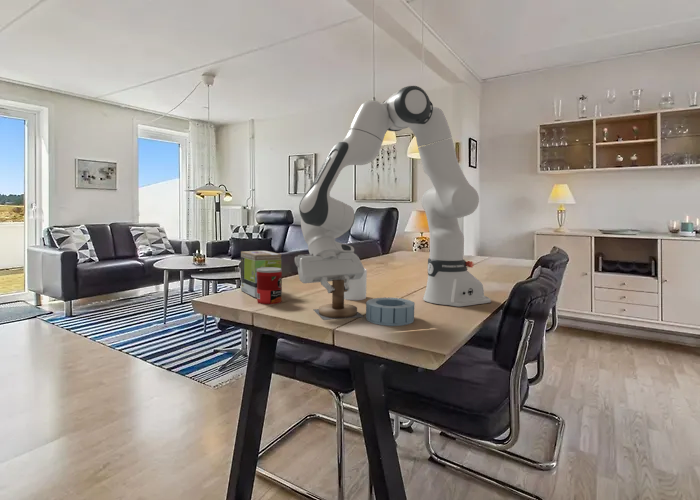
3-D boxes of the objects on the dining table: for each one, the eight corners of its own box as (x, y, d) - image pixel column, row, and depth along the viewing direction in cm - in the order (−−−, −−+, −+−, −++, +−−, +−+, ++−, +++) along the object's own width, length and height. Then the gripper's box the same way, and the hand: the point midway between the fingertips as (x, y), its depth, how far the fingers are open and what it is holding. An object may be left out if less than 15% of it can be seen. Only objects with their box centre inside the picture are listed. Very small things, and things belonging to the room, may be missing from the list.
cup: (359, 302, 137) (360, 271, 136) (327, 298, 142) (328, 268, 141) (370, 297, 144) (370, 268, 143) (339, 294, 149) (339, 266, 148)
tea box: (282, 295, 146) (282, 253, 144) (254, 298, 140) (254, 254, 139) (266, 288, 158) (266, 249, 157) (240, 290, 153) (239, 250, 151)
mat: (351, 308, 129) (351, 307, 129) (364, 318, 117) (364, 316, 117) (312, 310, 125) (312, 309, 125) (323, 321, 114) (323, 319, 113)
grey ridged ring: (401, 313, 124) (401, 296, 123) (422, 325, 111) (422, 306, 111) (359, 316, 120) (360, 298, 119) (377, 328, 107) (377, 309, 107)
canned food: (274, 306, 130) (274, 271, 129) (252, 304, 132) (251, 269, 131) (286, 301, 137) (286, 268, 136) (264, 299, 139) (264, 266, 138)
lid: (350, 307, 128) (350, 276, 127) (362, 316, 118) (362, 283, 117) (315, 309, 125) (315, 278, 124) (324, 319, 114) (324, 284, 113)
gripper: (295, 248, 120) (308, 287, 113) (357, 246, 130) (373, 282, 122) (290, 261, 125) (302, 300, 117) (350, 258, 134) (365, 294, 127)
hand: (339, 291), depth 120 cm, fingers closed on lid, 3 cm apart
